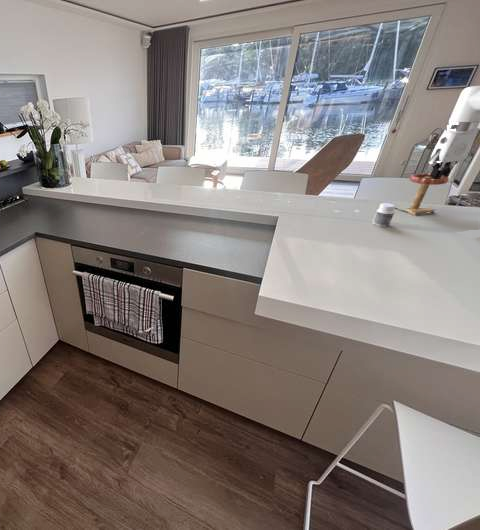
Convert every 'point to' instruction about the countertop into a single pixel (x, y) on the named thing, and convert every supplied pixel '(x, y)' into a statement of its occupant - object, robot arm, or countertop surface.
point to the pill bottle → (384, 215)
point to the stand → (420, 200)
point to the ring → (421, 180)
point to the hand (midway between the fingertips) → (437, 179)
